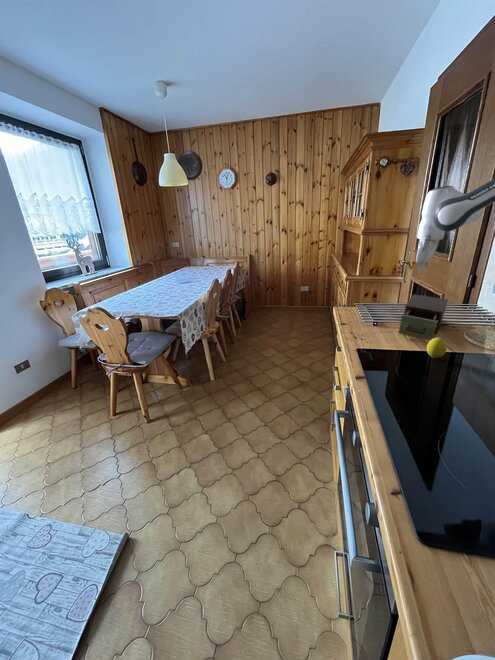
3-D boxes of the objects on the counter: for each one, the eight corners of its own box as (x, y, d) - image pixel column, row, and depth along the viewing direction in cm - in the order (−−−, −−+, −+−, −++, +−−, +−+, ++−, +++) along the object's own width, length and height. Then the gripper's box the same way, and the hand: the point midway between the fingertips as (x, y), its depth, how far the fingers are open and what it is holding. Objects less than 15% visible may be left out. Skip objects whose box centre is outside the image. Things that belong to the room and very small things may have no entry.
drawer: (429, 346, 102) (435, 326, 99) (395, 337, 109) (399, 319, 105) (437, 326, 115) (442, 309, 111) (406, 320, 121) (409, 303, 118)
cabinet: (436, 334, 111) (443, 312, 107) (401, 327, 118) (405, 305, 114) (442, 320, 121) (448, 299, 117) (408, 314, 128) (413, 294, 124)
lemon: (438, 353, 100) (444, 333, 96) (446, 362, 95) (452, 341, 91) (421, 353, 100) (426, 333, 97) (428, 362, 95) (434, 342, 92)
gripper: (435, 238, 99) (426, 276, 106) (444, 229, 113) (436, 264, 120) (415, 237, 103) (408, 274, 109) (426, 229, 117) (419, 262, 123)
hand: (422, 269), depth 115 cm, fingers open, 8 cm apart
